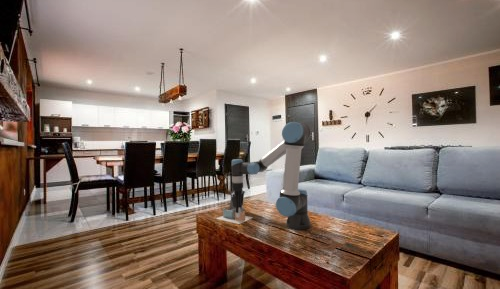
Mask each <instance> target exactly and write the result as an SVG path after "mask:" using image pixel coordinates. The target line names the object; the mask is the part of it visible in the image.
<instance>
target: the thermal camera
mask: <svg viewBox="0 0 500 289" xmlns="http://www.w3.org/2000/svg"><path fill="white" fill-rule="evenodd" d="M232 193H233V188H232V187H231V194H232ZM233 209H235V212H236V208H235V207H233V202H232V197H231V196H230V204H229V207H228V209H227V210H229V211H233ZM244 211H245V207H244V205H242V207H241V212H242V213H243V212H244Z"/></svg>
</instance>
